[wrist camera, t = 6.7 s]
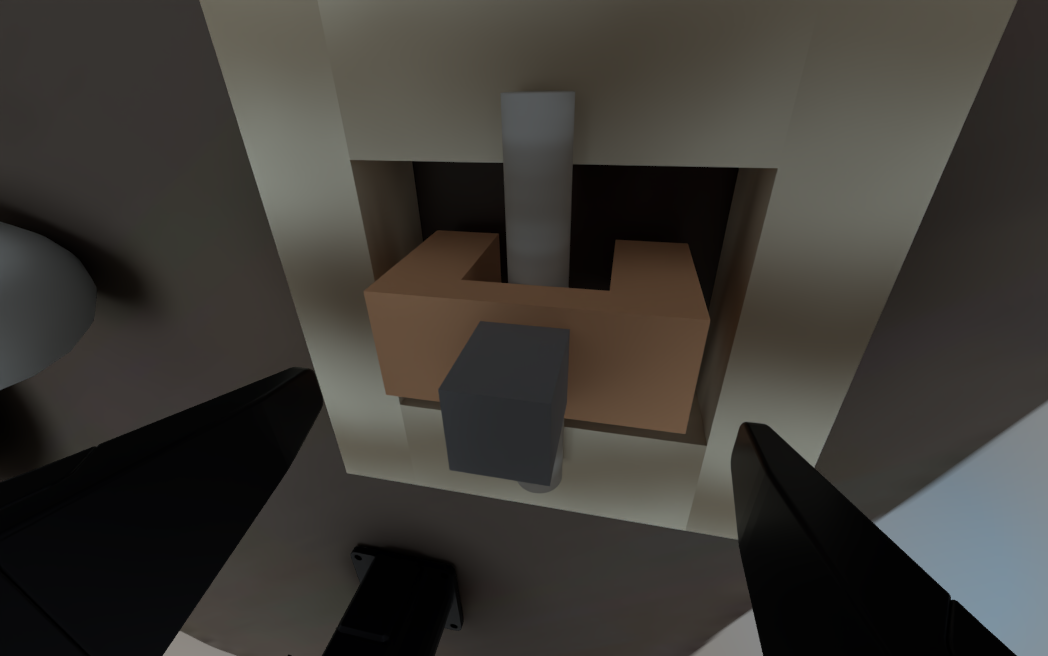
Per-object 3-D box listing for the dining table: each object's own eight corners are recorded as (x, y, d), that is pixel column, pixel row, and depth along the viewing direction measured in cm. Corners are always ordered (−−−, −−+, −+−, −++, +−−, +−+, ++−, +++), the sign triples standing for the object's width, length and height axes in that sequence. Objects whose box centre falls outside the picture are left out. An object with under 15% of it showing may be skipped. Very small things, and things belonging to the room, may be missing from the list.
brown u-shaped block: (672, 334, 14) (698, 529, 8) (447, 314, 15) (330, 467, 10) (687, 243, 13) (734, 401, 7) (437, 230, 14) (292, 350, 8)
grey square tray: (756, 467, 18) (792, 591, 14) (388, 415, 21) (325, 503, 17) (932, -51, 10) (1159, -141, 6) (291, -10, 13) (123, -47, 9)
